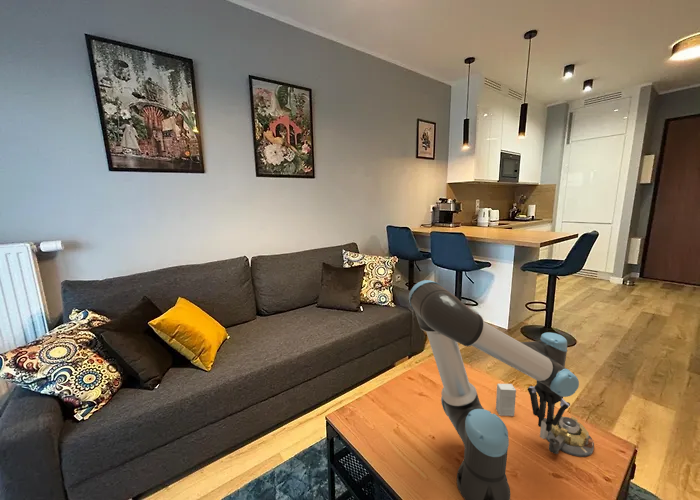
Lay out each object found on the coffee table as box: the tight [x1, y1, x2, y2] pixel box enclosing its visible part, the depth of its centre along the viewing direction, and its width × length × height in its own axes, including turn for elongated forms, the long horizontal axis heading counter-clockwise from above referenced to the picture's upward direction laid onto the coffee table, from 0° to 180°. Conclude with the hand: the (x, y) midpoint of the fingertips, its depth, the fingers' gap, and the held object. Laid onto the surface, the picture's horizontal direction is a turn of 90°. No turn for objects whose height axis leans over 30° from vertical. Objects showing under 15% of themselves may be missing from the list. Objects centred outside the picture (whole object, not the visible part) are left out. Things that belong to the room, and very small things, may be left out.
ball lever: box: [548, 414, 590, 455], centre depth 108 cm, size 19×11×4 cm, turn 126°
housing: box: [545, 416, 595, 458], centre depth 110 cm, size 15×15×8 cm
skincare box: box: [495, 383, 517, 417], centre depth 124 cm, size 6×4×12 cm
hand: (543, 436), depth 109 cm, fingers closed
